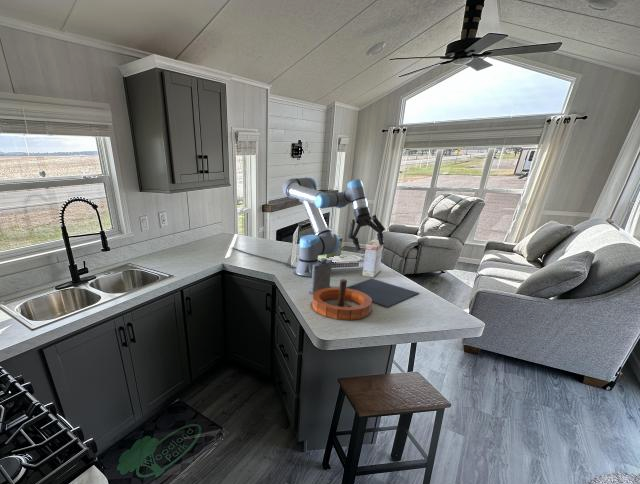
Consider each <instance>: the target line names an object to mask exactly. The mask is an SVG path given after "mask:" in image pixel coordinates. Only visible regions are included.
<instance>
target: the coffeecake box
mask: <svg viewBox="0 0 640 484" xmlns="http://www.w3.org/2000/svg"><path fill="white" fill-rule="evenodd" d="M383 243H385V240H383ZM383 249H384V244H383V245H379V240H378V239H376V238H375V239H371V240H370V241H369V242H367V243H365V251H364V259H363V267H362V276H363V277H367V278H368V277H369V278H375V276H376V275H377V274H378V273H379V272H380V271H381V263H382V257H383V251H384V250H383Z"/></svg>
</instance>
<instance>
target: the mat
mask: <svg viewBox="0 0 640 484" xmlns="http://www.w3.org/2000/svg"><path fill="white" fill-rule="evenodd" d="M346 288H349V289H354V290H357V291H360V292H363V293H365V294H367V295H368V296H370V298H371V300H372V303H373V304H376V305H379V306H382V307H384V308H389V307H392V306H394V305H396V304H399V303H400V302H403V301H405V300H407V299H409V298H412V297H414V296H417V295H419V292H418V291H414V290H410V289H407V288H404V287H400V286H397V285H394V284H392V283H388V282H384V281H381V280H378V279H374V278H371V279H370V278H369V279H367V280H365V281H362V282H359V283H357V284H354V285H351V286H348V287H347V286H346Z"/></svg>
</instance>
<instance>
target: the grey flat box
mask: <svg viewBox="0 0 640 484" xmlns="http://www.w3.org/2000/svg"><path fill="white" fill-rule="evenodd" d="M332 263H333V262H332V260H327V259H326V258H321V262H318V263H317V264H313V270H312V277H311V286H310V289H311V290H310V294H312V295H313V294H314V293H315V292H316V291H318V290H321V289H325V288H331V275H332Z"/></svg>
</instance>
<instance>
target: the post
mask: <svg viewBox="0 0 640 484" xmlns="http://www.w3.org/2000/svg"><path fill="white" fill-rule="evenodd" d="M347 284H348V280H347V279H344V278H342V279H340V280H339V287H338V288H339V298H338V299H337V301H335V302H333V303H330V305H333V306H338V307H352V304H349V303H346V302H345V300H346V299H345V293H346V288H347Z"/></svg>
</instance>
